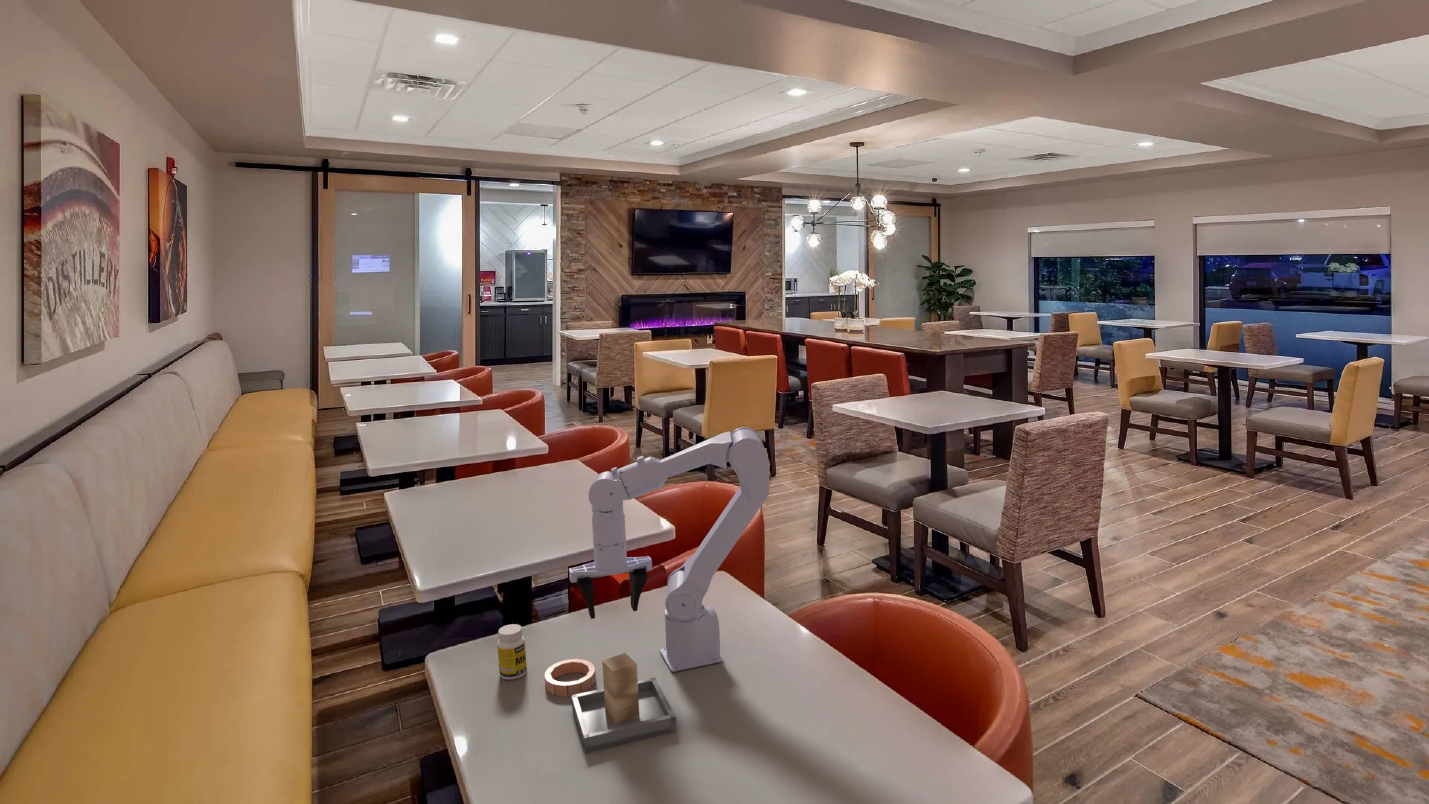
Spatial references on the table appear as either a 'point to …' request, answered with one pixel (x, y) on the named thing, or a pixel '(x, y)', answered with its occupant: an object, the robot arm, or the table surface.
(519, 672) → the supplement bottle
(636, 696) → the oak peg
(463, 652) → the table surface
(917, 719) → the table surface
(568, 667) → the segmented block ring
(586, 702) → the tray
